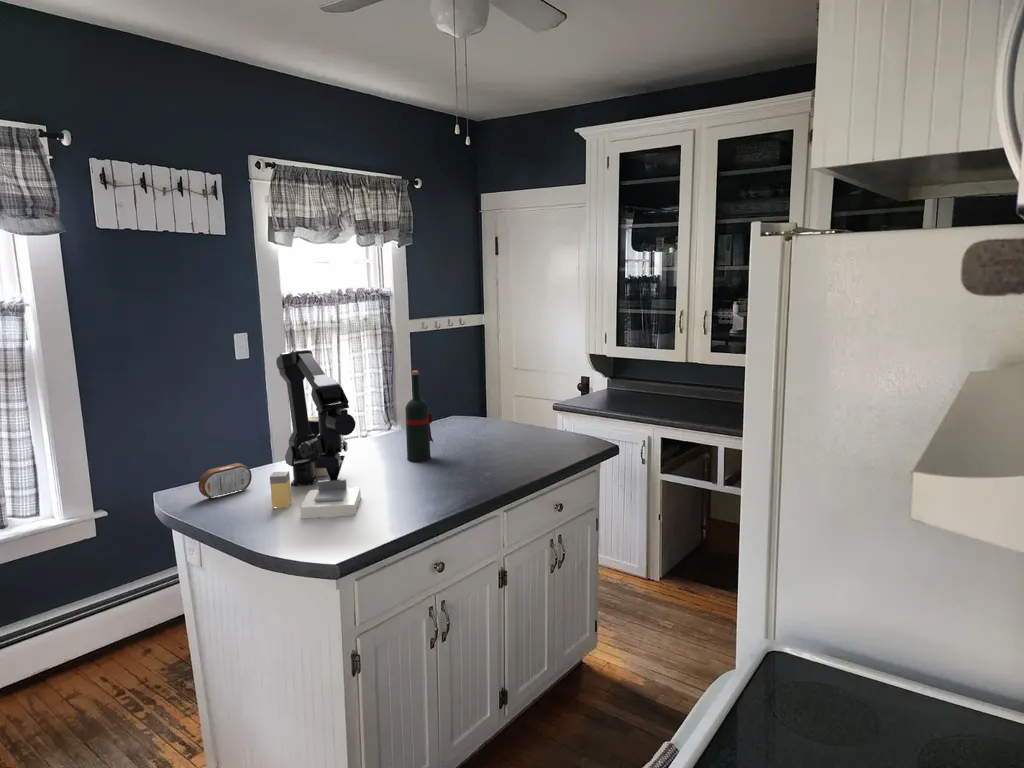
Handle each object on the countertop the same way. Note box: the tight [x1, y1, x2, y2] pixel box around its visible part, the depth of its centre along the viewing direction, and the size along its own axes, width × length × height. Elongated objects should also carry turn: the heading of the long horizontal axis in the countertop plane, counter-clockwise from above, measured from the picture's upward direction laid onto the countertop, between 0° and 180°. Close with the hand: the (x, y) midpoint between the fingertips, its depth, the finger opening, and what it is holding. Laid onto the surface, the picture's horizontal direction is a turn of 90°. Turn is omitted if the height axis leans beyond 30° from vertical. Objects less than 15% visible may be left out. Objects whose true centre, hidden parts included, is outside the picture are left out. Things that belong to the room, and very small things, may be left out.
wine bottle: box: [405, 370, 434, 463], centre depth 226 cm, size 8×10×30 cm
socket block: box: [299, 487, 362, 519], centre depth 183 cm, size 14×14×3 cm
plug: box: [269, 471, 292, 509], centre depth 185 cm, size 4×4×9 cm
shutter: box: [315, 478, 348, 502], centre depth 182 cm, size 7×7×3 cm
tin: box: [197, 462, 253, 499], centre depth 195 cm, size 15×3×8 cm, turn 141°
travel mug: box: [308, 414, 329, 478], centre depth 212 cm, size 8×8×18 cm
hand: (333, 483), depth 187 cm, fingers closed
